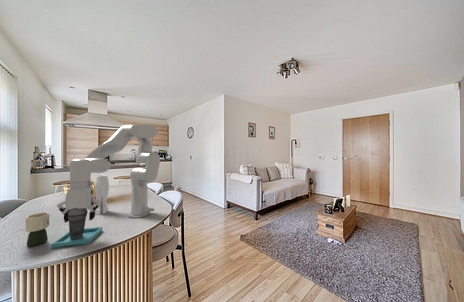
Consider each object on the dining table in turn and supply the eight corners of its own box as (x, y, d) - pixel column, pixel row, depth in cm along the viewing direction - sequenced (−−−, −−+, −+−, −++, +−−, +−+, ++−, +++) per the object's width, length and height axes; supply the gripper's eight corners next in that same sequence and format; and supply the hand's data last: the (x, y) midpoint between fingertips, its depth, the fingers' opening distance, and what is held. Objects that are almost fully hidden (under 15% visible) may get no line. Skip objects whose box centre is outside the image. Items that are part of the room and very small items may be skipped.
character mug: (53, 242, 79) (54, 214, 79) (30, 250, 72) (30, 219, 72) (43, 237, 83) (44, 210, 83) (21, 244, 77) (21, 215, 77)
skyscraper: (90, 214, 114) (91, 172, 115) (101, 210, 122) (101, 171, 123) (101, 215, 113) (102, 173, 114) (111, 211, 121) (112, 171, 122)
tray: (102, 230, 91) (102, 226, 91) (88, 244, 78) (89, 239, 78) (70, 234, 87) (71, 230, 87) (51, 248, 74) (51, 243, 74)
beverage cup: (74, 234, 85) (76, 194, 85) (90, 234, 86) (92, 194, 86) (61, 241, 78) (63, 197, 78) (78, 241, 79) (80, 198, 79)
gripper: (104, 182, 88) (104, 215, 88) (63, 184, 84) (62, 219, 83) (97, 185, 81) (97, 221, 81) (52, 187, 76) (51, 225, 76)
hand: (79, 220), depth 82 cm, fingers open, 9 cm apart
